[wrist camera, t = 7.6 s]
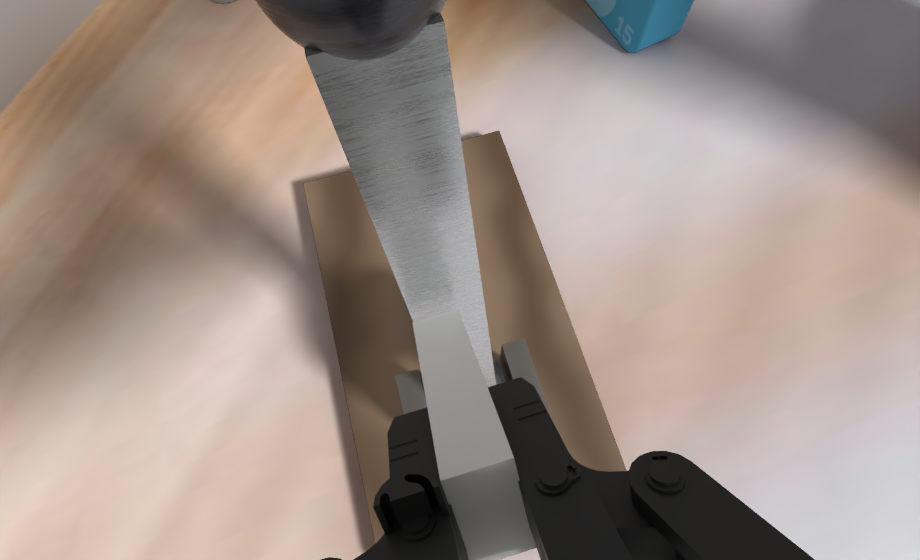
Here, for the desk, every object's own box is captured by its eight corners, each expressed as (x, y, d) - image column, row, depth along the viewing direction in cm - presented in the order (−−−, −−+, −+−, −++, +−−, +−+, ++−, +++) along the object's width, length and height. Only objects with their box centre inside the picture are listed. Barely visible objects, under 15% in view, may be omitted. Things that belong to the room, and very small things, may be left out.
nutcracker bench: (498, 145, 41) (502, 47, 31) (628, 496, 32) (693, 516, 22) (311, 196, 40) (255, 112, 30) (388, 571, 31) (343, 627, 21)
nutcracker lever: (475, 304, 30) (370, -295, 10) (515, 426, 26) (472, -206, 6) (418, 320, 30) (196, -256, 10) (449, 446, 26) (163, -132, 6)
